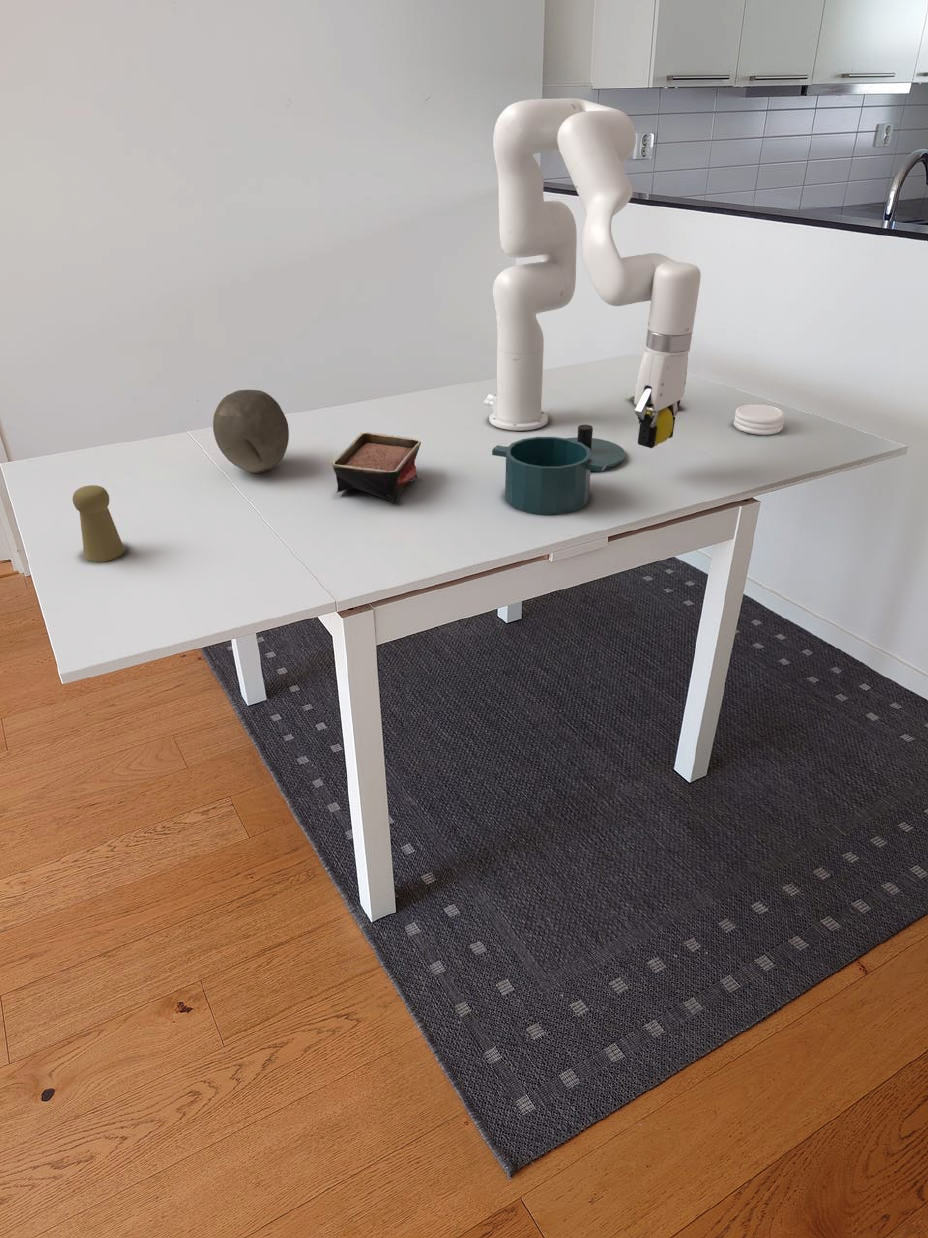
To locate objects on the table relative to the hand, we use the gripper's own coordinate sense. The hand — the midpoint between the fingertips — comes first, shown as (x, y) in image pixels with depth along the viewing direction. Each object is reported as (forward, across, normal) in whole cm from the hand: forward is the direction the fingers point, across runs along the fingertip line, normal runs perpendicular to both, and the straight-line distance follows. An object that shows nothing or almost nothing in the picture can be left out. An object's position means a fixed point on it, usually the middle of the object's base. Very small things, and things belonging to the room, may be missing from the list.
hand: (655, 439), depth 161 cm
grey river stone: (+9, +45, -59) cm, 75 cm away
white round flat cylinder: (+7, -37, +4) cm, 38 cm away
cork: (+8, +82, -50) cm, 97 cm away
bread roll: (+8, -36, -20) cm, 42 cm away
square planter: (+8, +36, -35) cm, 51 cm away
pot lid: (+7, 0, -15) cm, 16 cm away
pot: (+7, +20, -9) cm, 23 cm away
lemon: (+1, 0, 0) cm, 1 cm away
